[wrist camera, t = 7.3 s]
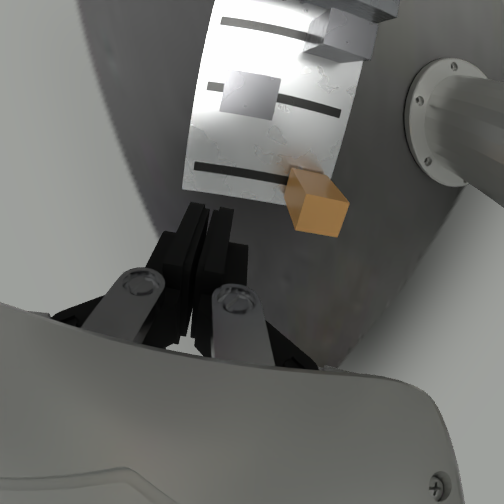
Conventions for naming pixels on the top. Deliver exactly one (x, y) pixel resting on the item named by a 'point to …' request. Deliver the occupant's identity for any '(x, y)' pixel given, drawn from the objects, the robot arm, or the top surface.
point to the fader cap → (315, 203)
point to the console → (276, 91)
